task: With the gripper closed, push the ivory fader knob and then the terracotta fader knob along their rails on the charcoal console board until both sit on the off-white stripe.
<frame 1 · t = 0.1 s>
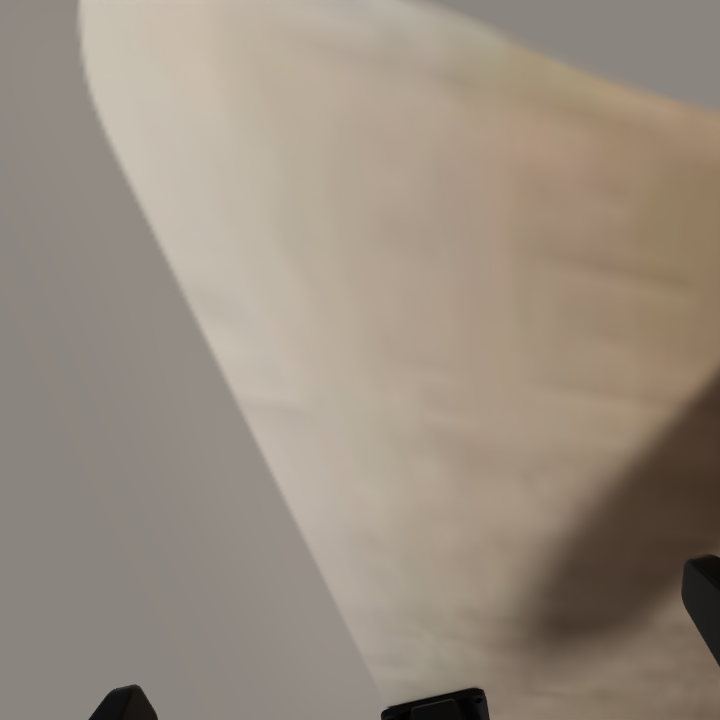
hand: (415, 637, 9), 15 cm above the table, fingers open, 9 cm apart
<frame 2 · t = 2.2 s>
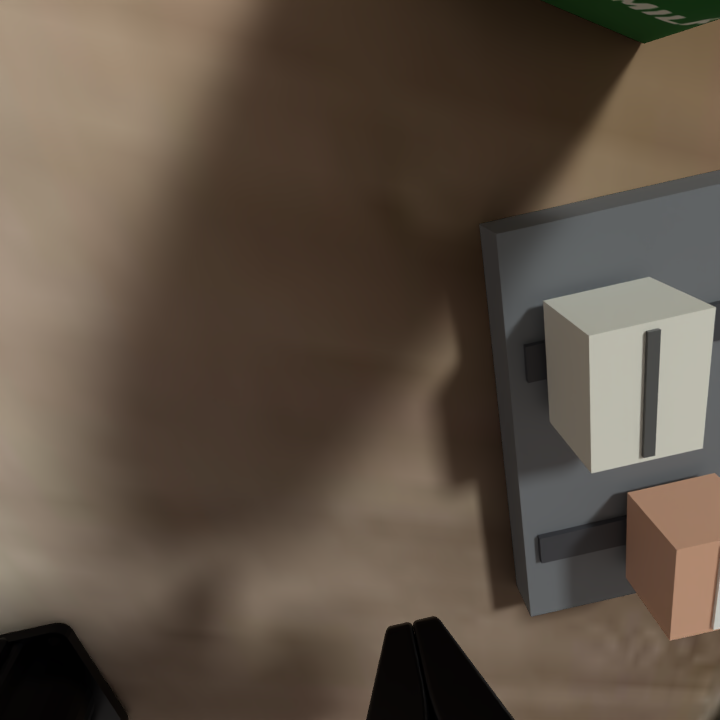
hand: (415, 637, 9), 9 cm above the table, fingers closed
fader ivory: (622, 373, 14), point 3 cm above the table, slide at 0.0 cm
fader terracotta: (693, 556, 17), point 3 cm above the table, slide at 0.0 cm
console: (695, 391, 19), on the table
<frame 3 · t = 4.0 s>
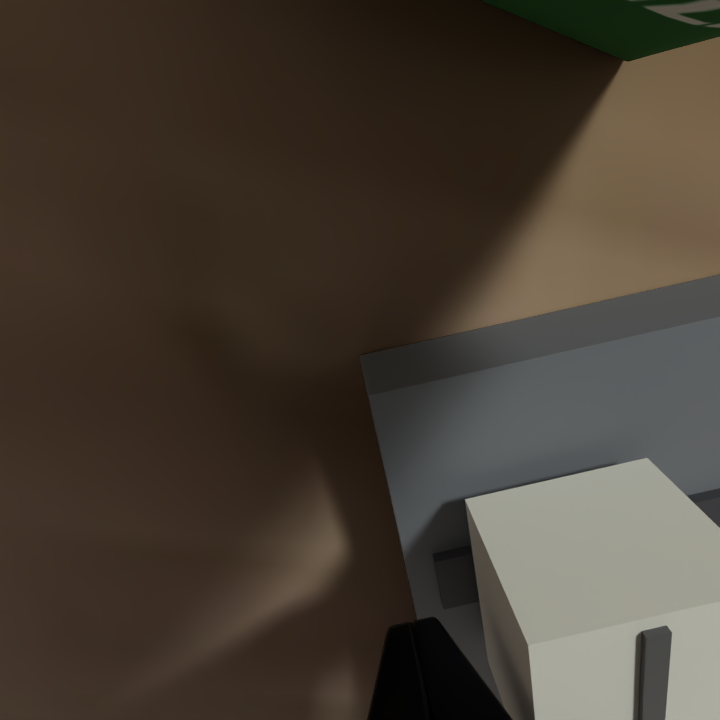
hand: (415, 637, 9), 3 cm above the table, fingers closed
fader ivory: (599, 636, 8), point 3 cm above the table, slide at 0.1 cm, touching gripper
console: (709, 572, 13), on the table
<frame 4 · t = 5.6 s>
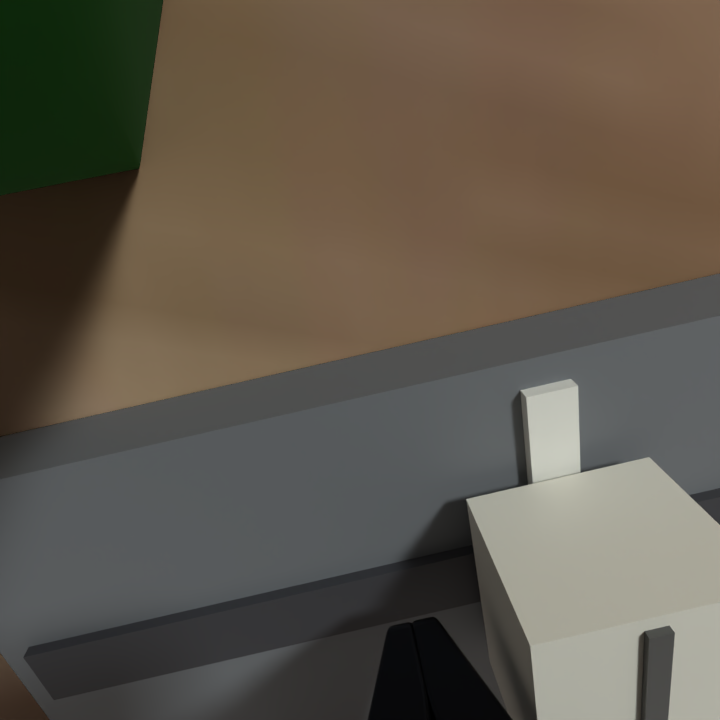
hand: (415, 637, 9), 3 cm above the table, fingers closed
fader ivory: (602, 636, 8), point 3 cm above the table, slide at 7.5 cm, touching gripper
console: (409, 641, 12), on the table
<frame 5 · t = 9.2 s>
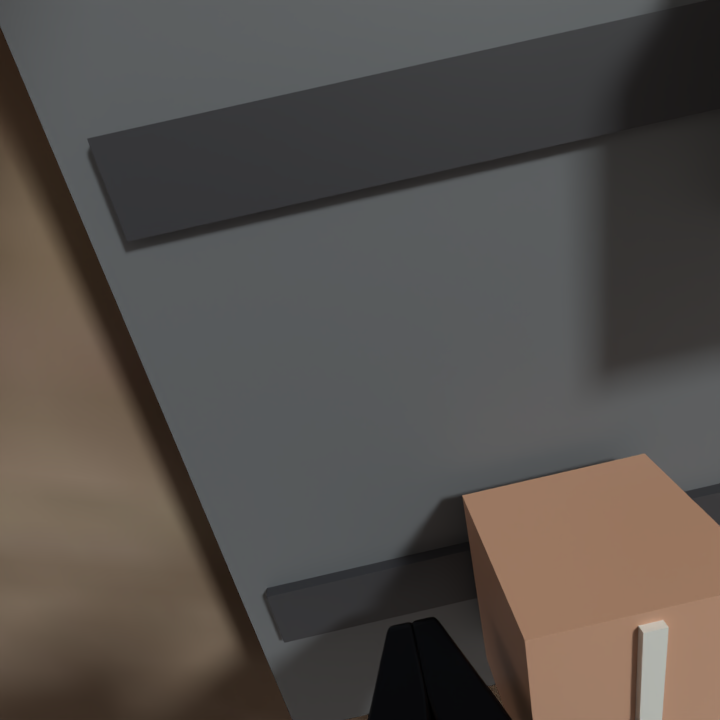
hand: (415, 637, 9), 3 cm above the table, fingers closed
fader terracotta: (597, 631, 8), point 3 cm above the table, slide at 0.6 cm, touching gripper
console: (578, 301, 9), on the table
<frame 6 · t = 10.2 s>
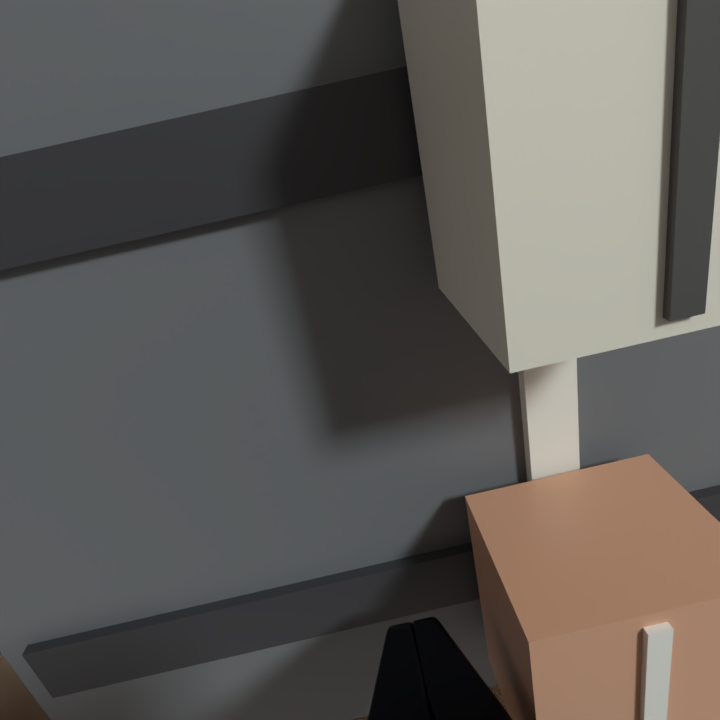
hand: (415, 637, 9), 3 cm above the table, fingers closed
fader ivory: (602, 88, 5), point 3 cm above the table, slide at 7.5 cm
fader terracotta: (601, 633, 8), point 3 cm above the table, slide at 4.9 cm, touching gripper
console: (341, 356, 9), on the table
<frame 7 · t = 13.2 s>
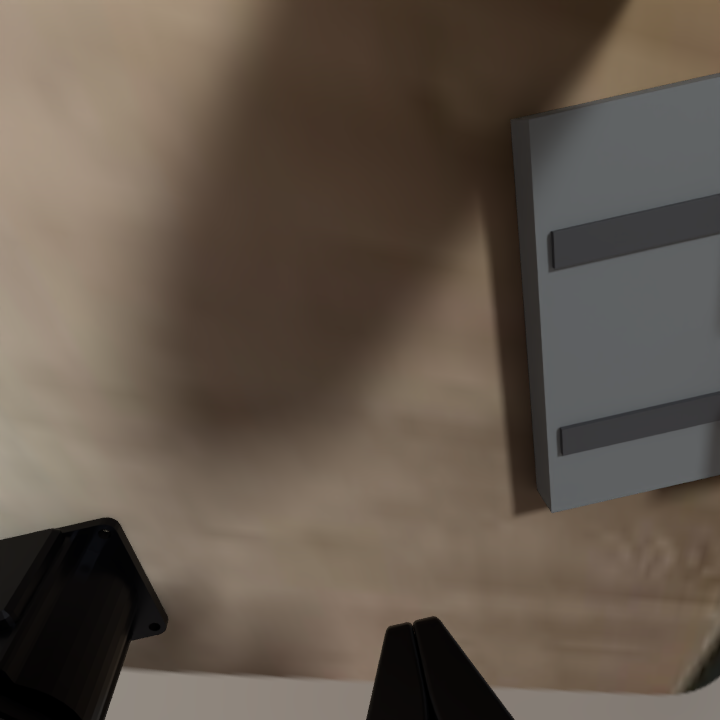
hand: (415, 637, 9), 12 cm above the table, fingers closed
console: (706, 293, 20), on the table
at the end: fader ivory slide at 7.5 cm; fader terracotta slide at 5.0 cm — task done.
